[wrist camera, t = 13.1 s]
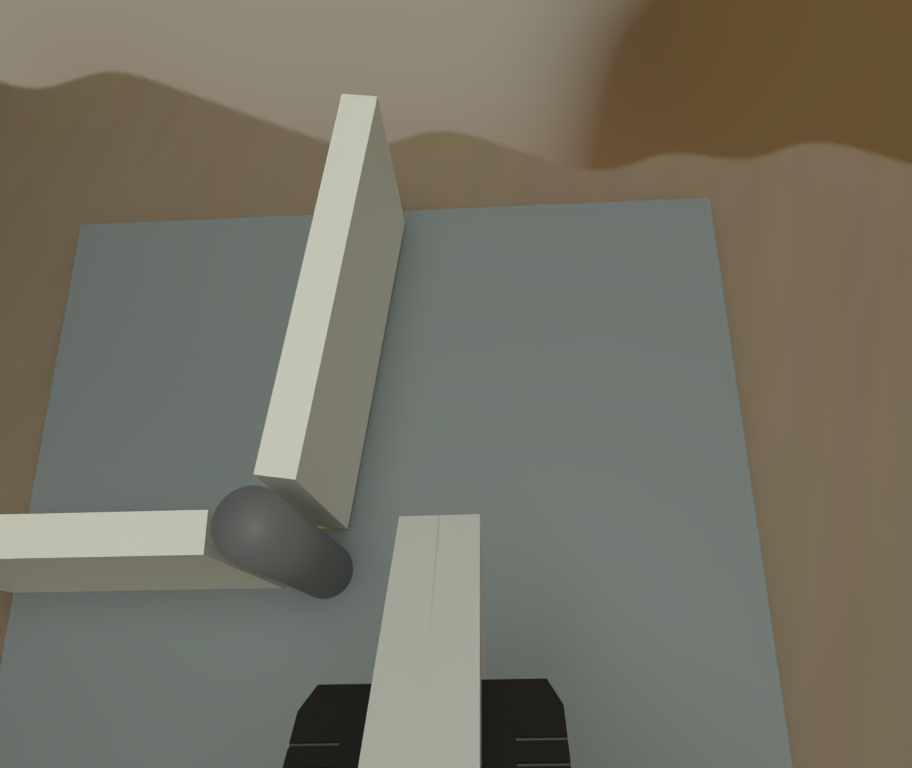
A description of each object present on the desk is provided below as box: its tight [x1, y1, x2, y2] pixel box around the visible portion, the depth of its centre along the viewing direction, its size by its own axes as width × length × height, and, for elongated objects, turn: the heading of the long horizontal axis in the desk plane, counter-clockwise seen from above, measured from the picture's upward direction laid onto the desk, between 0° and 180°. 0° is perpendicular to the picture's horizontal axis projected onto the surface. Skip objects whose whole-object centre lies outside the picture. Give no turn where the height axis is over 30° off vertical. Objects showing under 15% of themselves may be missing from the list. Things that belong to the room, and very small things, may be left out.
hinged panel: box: [253, 94, 405, 530], centre depth 27 cm, size 13×1×8 cm, turn 172°
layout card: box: [0, 198, 793, 768], centre depth 30 cm, size 27×22×1 cm
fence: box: [0, 485, 353, 599], centre depth 25 cm, size 12×2×9 cm, turn 91°
